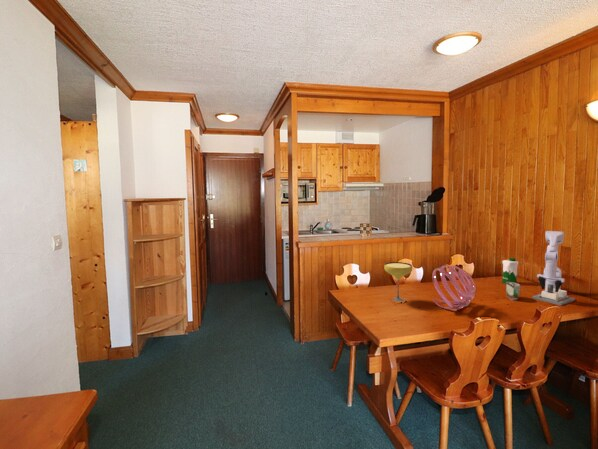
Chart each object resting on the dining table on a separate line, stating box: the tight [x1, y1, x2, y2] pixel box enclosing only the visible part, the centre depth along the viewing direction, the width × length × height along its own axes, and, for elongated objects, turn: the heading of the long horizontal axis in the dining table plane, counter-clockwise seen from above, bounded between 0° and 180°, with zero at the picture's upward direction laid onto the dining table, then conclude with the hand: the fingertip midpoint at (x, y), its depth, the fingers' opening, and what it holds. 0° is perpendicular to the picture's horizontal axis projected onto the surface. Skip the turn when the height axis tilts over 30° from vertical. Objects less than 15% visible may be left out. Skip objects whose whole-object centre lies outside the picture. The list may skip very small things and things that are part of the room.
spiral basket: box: [431, 264, 476, 311], centre depth 198 cm, size 28×28×27 cm
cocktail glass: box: [383, 261, 413, 301], centre depth 211 cm, size 18×18×25 cm
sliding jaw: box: [540, 284, 559, 300], centre depth 205 cm, size 4×8×9 cm, turn 27°
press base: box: [532, 288, 576, 306], centre depth 207 cm, size 18×16×6 cm
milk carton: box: [501, 257, 519, 284], centre depth 245 cm, size 9×9×20 cm
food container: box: [505, 282, 521, 302], centre depth 211 cm, size 12×6×10 cm, turn 168°
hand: (549, 290), depth 204 cm, fingers open, 7 cm apart
